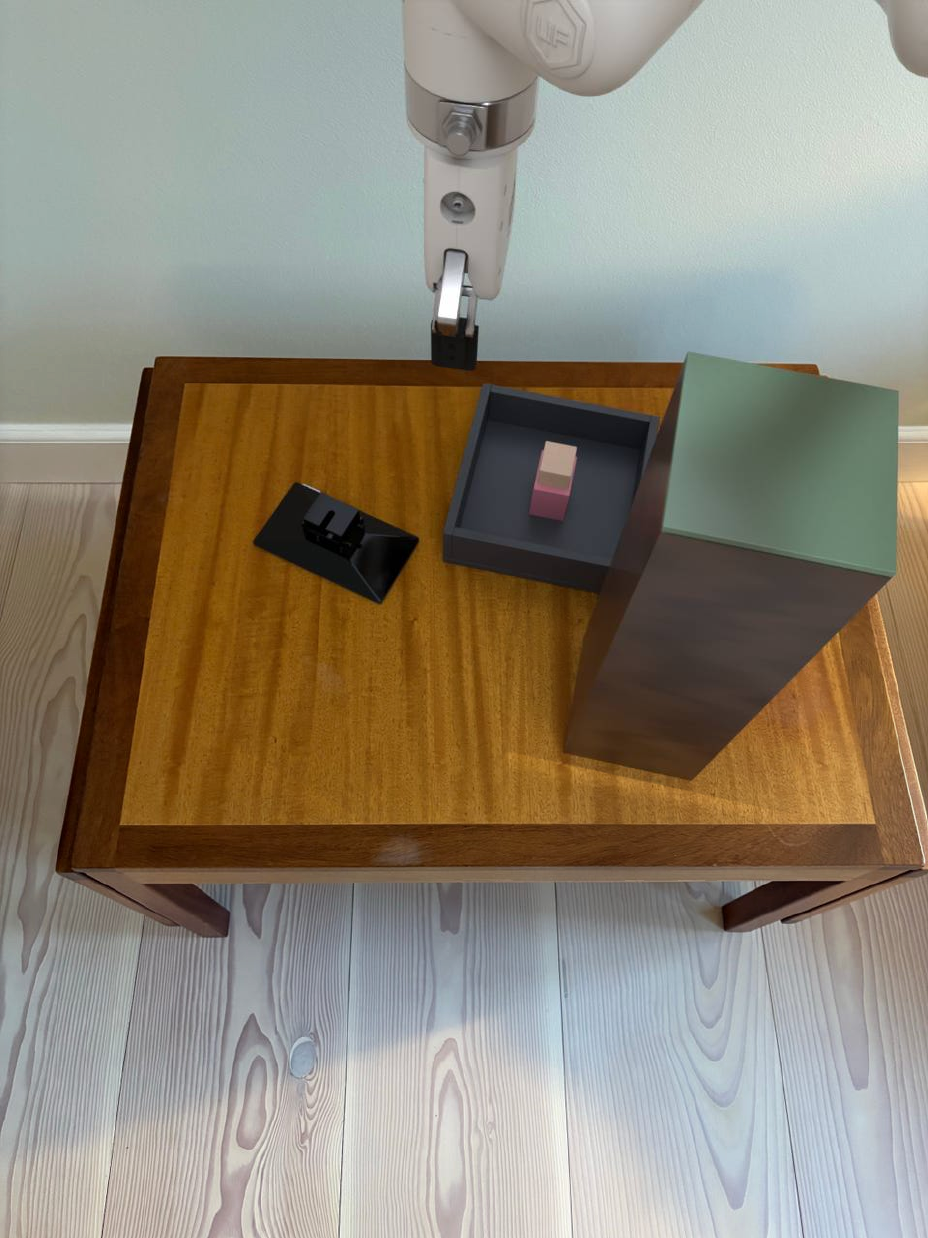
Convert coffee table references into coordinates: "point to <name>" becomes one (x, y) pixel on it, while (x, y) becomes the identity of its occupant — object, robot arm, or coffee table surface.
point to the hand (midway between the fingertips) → (464, 314)
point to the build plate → (337, 542)
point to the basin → (505, 476)
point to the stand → (735, 559)
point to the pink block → (553, 481)
